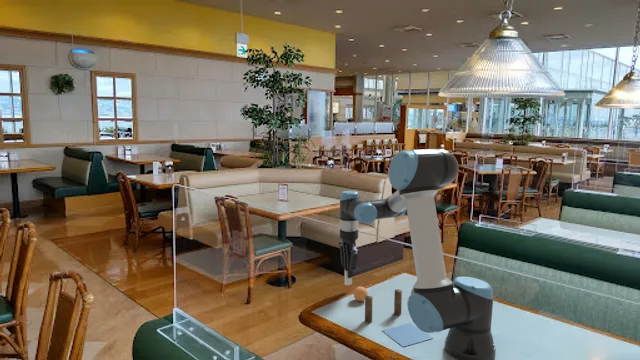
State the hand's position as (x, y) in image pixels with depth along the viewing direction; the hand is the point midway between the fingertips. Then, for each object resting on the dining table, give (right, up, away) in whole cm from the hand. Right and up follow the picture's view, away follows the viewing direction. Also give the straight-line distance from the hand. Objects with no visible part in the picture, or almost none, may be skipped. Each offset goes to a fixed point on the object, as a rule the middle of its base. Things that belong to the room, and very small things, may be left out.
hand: (348, 284), depth 187 cm
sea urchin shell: (+29, -5, -6) cm, 30 cm away
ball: (+4, -2, -9) cm, 10 cm away
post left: (+6, -7, -25) cm, 27 cm away
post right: (+17, -6, -19) cm, 27 cm away
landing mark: (+18, -9, -35) cm, 40 cm away
